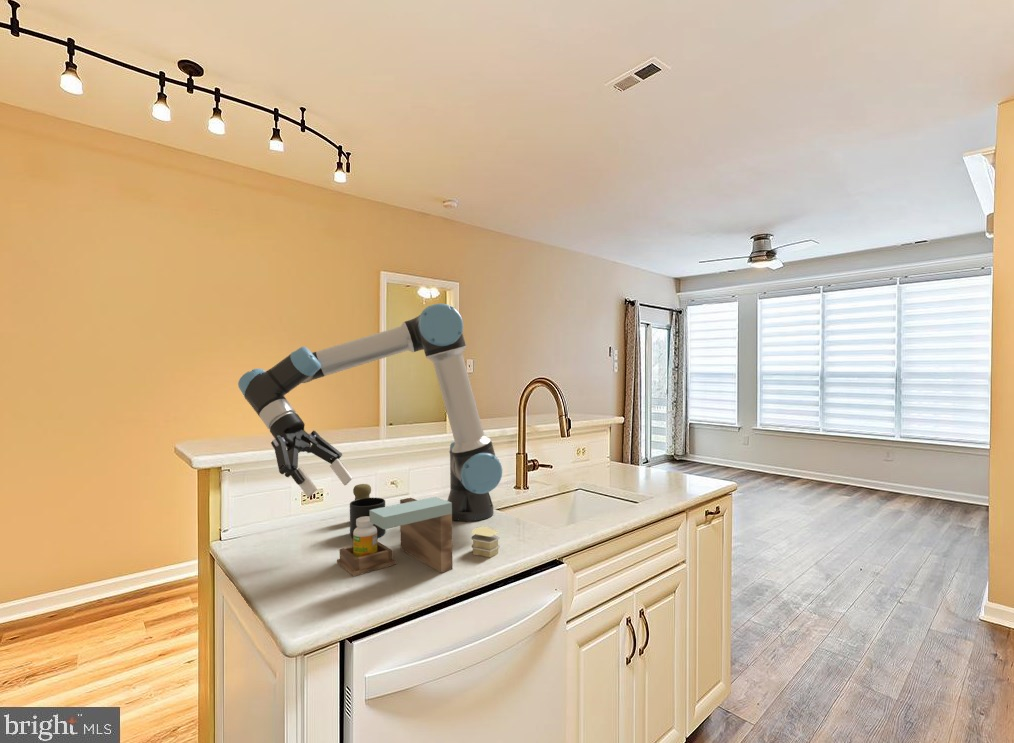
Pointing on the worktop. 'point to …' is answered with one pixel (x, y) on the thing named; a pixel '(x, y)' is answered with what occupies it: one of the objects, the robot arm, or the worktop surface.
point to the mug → (365, 512)
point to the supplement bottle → (364, 537)
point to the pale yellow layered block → (485, 541)
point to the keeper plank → (410, 512)
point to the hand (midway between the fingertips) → (331, 487)
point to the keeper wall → (429, 540)
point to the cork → (362, 491)
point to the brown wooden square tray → (365, 560)
